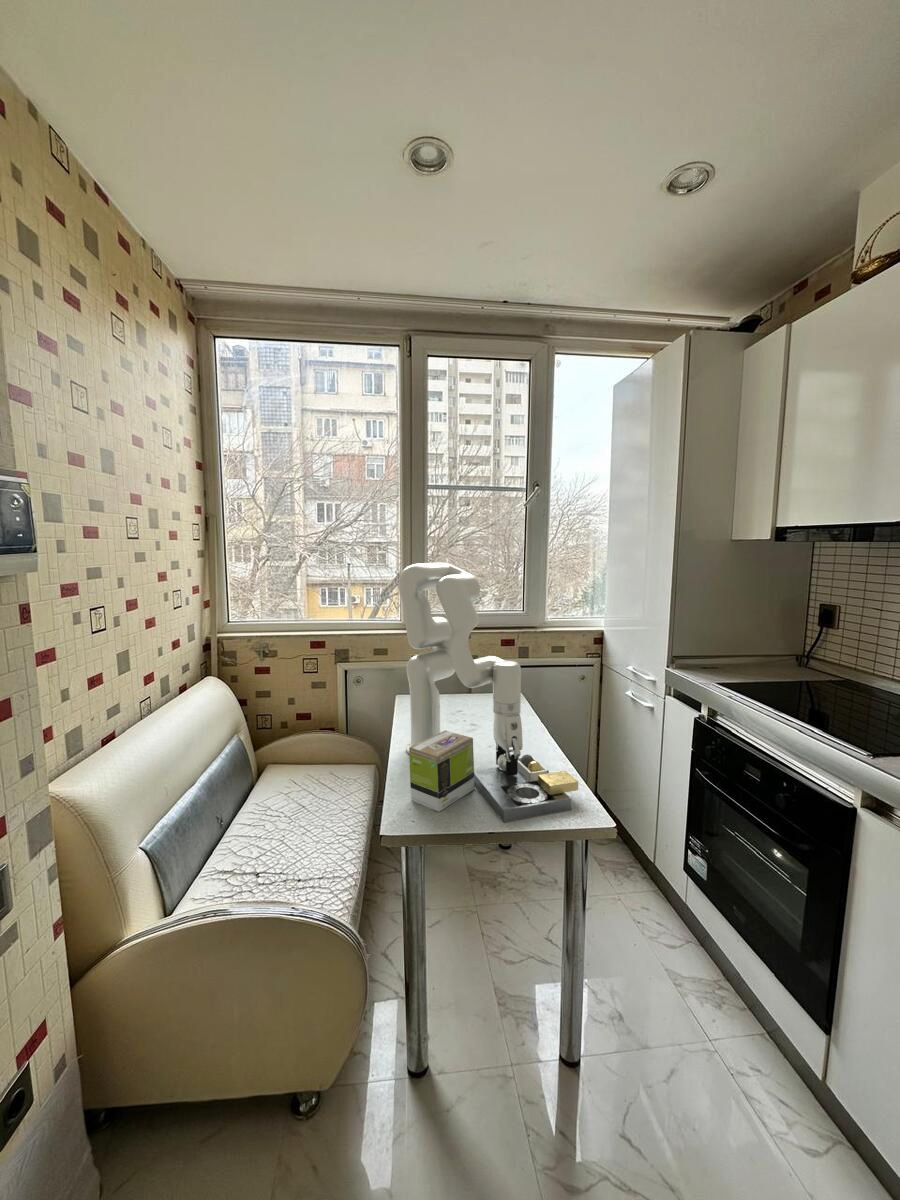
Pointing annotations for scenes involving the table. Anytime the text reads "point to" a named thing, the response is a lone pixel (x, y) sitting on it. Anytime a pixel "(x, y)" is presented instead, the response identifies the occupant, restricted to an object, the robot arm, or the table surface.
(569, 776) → the brass cover
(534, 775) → the parts tray
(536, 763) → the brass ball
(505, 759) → the steel ball
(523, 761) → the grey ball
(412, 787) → the tea box
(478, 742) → the table surface
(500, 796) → the bearing plate
